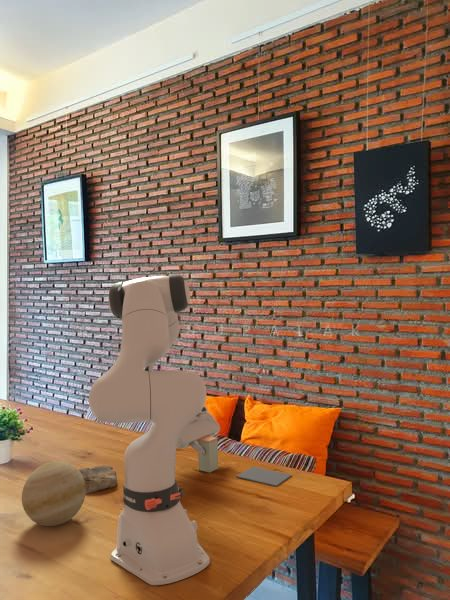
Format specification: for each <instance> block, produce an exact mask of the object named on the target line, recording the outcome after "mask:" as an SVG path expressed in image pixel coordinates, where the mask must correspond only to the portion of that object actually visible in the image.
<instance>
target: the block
mask: <svg viewBox="0 0 450 600" xmlns="http://www.w3.org/2000/svg"><path fill="white" fill-rule="evenodd" d="M218 440H219V437H216V436H214V437H212V436H205V437H203V438H200V439H198V444H199V445H200V446H201V447H204V448H205V449H206V451H207V452H206V453H205V454H203V455H200V453H199V452H198V451H197V453H198V454H197V455H198V457H197V458H198V470H199V471H203V472H206V473H212V472H214V471H216V470H217V469H219V448H218V447H219V443H218V442H219V441H218Z"/></svg>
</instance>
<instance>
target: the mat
mask: <svg viewBox="0 0 450 600" xmlns="http://www.w3.org/2000/svg"><path fill="white" fill-rule="evenodd" d="M291 477H293V474H290V473H286V472H285V473H284V472H281V471H275V470H271V469H267V468H262V467H257V466H252V467H250V468H248V469H245V470H244V471H243V472H241V473H238V475H236V478H238V479H242V480H246V481H250V482H255V483H258V484H263V485H267V486H272V487H278V486H280V485H281V484H282V483H284V482H285V481H287V480H288V479H290V478H291Z"/></svg>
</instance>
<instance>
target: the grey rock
mask: <svg viewBox="0 0 450 600" xmlns="http://www.w3.org/2000/svg"><path fill="white" fill-rule="evenodd" d="M78 470H79V471H80V473H81V474H82V476H83V478H84V481H85V486H86V493H87V494H90V493H89V492H91V493H96V492H98V491H102V490H105V489H106V488H107V489H111V488H113V487H115V486H117V485H118V478H117V477H118V476H117V471H115V470H114V468H113V466H111V465H101V466H99V465H98V466H95V467H92V468H89V467H88V468H86V467H85V468H82V469H81V468H80V469H78Z"/></svg>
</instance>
